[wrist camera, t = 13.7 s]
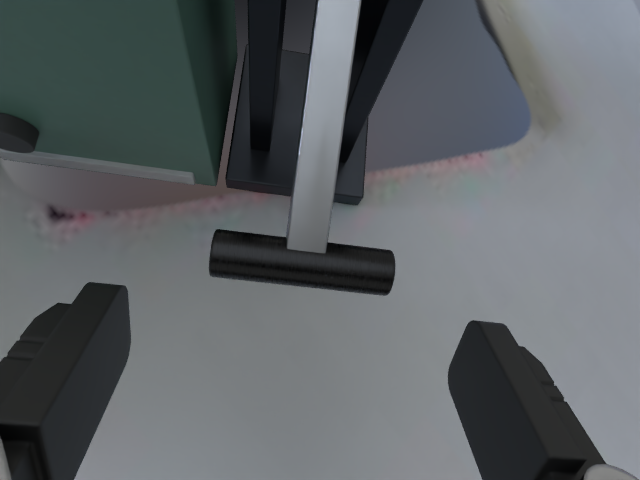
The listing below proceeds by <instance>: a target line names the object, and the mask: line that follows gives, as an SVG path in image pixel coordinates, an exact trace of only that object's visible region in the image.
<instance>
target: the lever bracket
mask: <svg viewBox="0 0 640 480" xmlns="http://www.w3.org/2000/svg"><path fill="white" fill-rule="evenodd" d="M422 2H423V0H362V1H361V8H360V15H359V22H358V30H357V37H356V44H355V51H354V58H353V65H352V72H351V79H350V86H349V93H348V101H347V108H346V115H345V122H344V129H343V136H342V143H341V150H340V157H339V164H338V172H337V179H336V186H335V193H334V200H333V202H339V203H347V204H355V205H358V204H359V203H360V201H361V200H362V198H363V192H364V177H365V161H366V146H367V130H368V116H369V114H370V112H371V110H372V108H373V106H374V103H375V101H376V99H377V97H378V95H379V93H380V90H381V88H382V86H383V84H384V82H385V80H386V78H387V76H388V74H389V72H390V70H391V68H392V65H393V63H394V61H395V59H396V57H397V55H398V53H399V51H400V49H401V47H402V44H403V42H404V40H405V38H406V36H407V34H408V32H409V30H410V28H411V26H412V23H413V21H414V19H415V17H416V15H417V13H418V11H419V9H420V6H421V4H422ZM285 10H286V0H248V39H249V40H248V41H249V44H247V45H246V49H245V55H244V62H243V68H242V75H241V81H240V88H239V94H238V101H237V108H236V114H235V120H234V126H233V133H232V139H231V146H230V152H229V159H228V165H227V172H226V185H227V187H228V188H234V189H242V190H249V191H257V192H264V193H272V194H279V195H287V196H291V194H292V186H293V178H294V170H295V162H296V155H297V147H298V139H299V131H300V123H301V115H302V107H303V100H304V92H305V84H306V76H307V68H308V60H309V54H305V53H299V52H293V51H287V50H282V43H283V32H284V20H285Z"/></svg>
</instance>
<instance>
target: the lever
mask: <svg viewBox="0 0 640 480" xmlns="http://www.w3.org/2000/svg"><path fill="white" fill-rule="evenodd" d="M361 1H362V0H316V6H315V14H314V22H313V29H312V38H311V45H310V53H309V60H308V68H307V76H306V84H305V92H304V100H303V107H302V115H301V123H300V131H299V139H298V147H297V155H296V162H295V170H294V178H293V186H292V194H291V202H290V209H289V217H288V225H287V233H286V237H278V236H270V235H262V234H254V233H246V232H237V231H229V230H221V229H217V230H216V231H215V233H214V236H213V240H212V245H211V251H210V260H209V273H210V276H212V277H218V278H227V279H236V280H245V281H254V282H264V283H273V284H282V285H291V286H300V287H309V288H318V289H328V290H337V291H346V292H355V293H364V294H373V295H383V296H386V295H388V294H389V293H390V291H391V288H392V286H393V282H394V276H395V258H394V254H393V252H392V251H391V250H385V249H377V248H369V247H361V246H352V245H344V244H336V243H328V235H329V228H330V221H331V214H332V207H333V200H334V193H335V186H336V179H337V172H338V164H339V157H340V150H341V143H342V136H343V129H344V122H345V115H346V108H347V101H348V93H349V86H350V79H351V72H352V65H353V58H354V51H355V44H356V37H357V30H358V22H359V15H360V8H361Z"/></svg>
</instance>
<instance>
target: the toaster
mask: <svg viewBox="0 0 640 480" xmlns="http://www.w3.org/2000/svg"><path fill="white" fill-rule="evenodd" d="M236 62H237V40H236V23H235V3H234V0H0V157H1V158H3V159H4V160H12V161H19V162H27V163H34V164H41V165H49V166H57V167H65V168H71V169H79V170H87V171H94V172H102V173H109V174H117V175H124V176H132V177H139V178H147V179H155V180H163V181H170V182H178V183H185V184H192V185H195V183H196V184H204V185H211V186H216V185H217V180H218V174H219V168H220V161H221V155H222V149H223V143H224V137H225V130H226V124H227V118H228V111H229V105H230V99H231V93H232V87H233V80H234V74H235V68H236Z"/></svg>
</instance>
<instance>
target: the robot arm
mask: <svg viewBox="0 0 640 480" xmlns="http://www.w3.org/2000/svg"><path fill="white" fill-rule="evenodd" d="M130 344H131V332H130V317H129V302H128V291H127V288H126V286H123V285H114V284H104V283H94V282H89V283H87V284H86V285H85V286H84V287H83V289H82V290H81V291H80V293H79V294H78V296H77V297H76V299H75V300H74V301H73V303H72V304H65V303H57V304H56V305H54V306H52V307H51V308H49V309H48V310H46V311H45V312H43V313H42V314H40V315H39V316H37V317H36V318H35V319H34V320H33V321H32V322H31V324H30V325H29V326H28V328H27V329H26V330H25V331H24V333H23V334H22V335H21V336H20V340H19V341H17V342H16V343H15V344H14V345H13V347H12V348H11V349H10V350H9V352H8V355H7V357H4V358H3V359H2V361H1V362H0V480H74V478H75V476H76V474H77V471H78V469H79V467H80V465H81V463H82V460H83V458H84V456H85V454H86V451H87V449H88V447H89V445H90V443H91V440H92V438H93V436H94V434H95V432H96V429H97V427H98V425H99V423H100V421H101V418H102V416H103V414H104V412H105V409H106V407H107V405H108V403H109V401H110V398H111V396H112V394H113V392H114V390H115V387H116V385H117V383H118V381H119V379H120V376H121V374H122V372H123V370H124V367H125V365H126V362H127V359H128V356H129V351H130ZM448 385H449V390H450V393H451V396H452V399H453V401H454V404H455V407H456V409H457V412H458V415H459V418H460V420H461V423H462V426H463V428H464V431H465V434H466V436H467V439H468V442H469V445H470V447H471V450H472V453H473V455H474V458H475V461H476V464H477V466H478V469H479V472H480V474H481V477H482V480H639V479H638V478H636V477H635V476H633V475H631V474H630V473H628V472H626V471H624V470H622V469H620V468H617V467H615V466H611V465H607V464H606V463H605V461H604V460H603V458H602V457H601V455H600V453H599V452H598V450H597V449H596V447H595V446H594V444H593V443H592V441H591V439H590V438H589V436H588V435H587V433H586V432H585V430H584V428H583V427H582V425H581V424H580V422H579V421H578V419H577V417H576V416H575V414H574V413H573V411H572V410H571V408H570V406H569V405H568V403H567V402H564V397H563V396H562V394H561V392H560V391H559V389H558V388H557V386H554V381H553V380H552V378H551V377H550V375H549V374H548V372H547V370H546V369H545V367H544V366H543V364H542V363H541V362H540V361H539V360H538V359H537V358H535V357H534V356H533V355H532V354H531V353H530V352H529V351H528V350H527V349H526V348H525V347H521V346H518V344H517V342H516V341H515V339H514V337H513V336H512V334H511V332H510V331H509V329H508V328H507V326H506V325H504V324H502V323H493V322H483V321H474V320H473V321H470V322H469V323H468V325H467V326H466V328H465V331H464V333H463V335H462V338H461V340H460V342H459V345H458V347H457V350H456V352H455V354H454V357H453V359H452V361H451V364H450V367H449V372H448Z"/></svg>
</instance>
